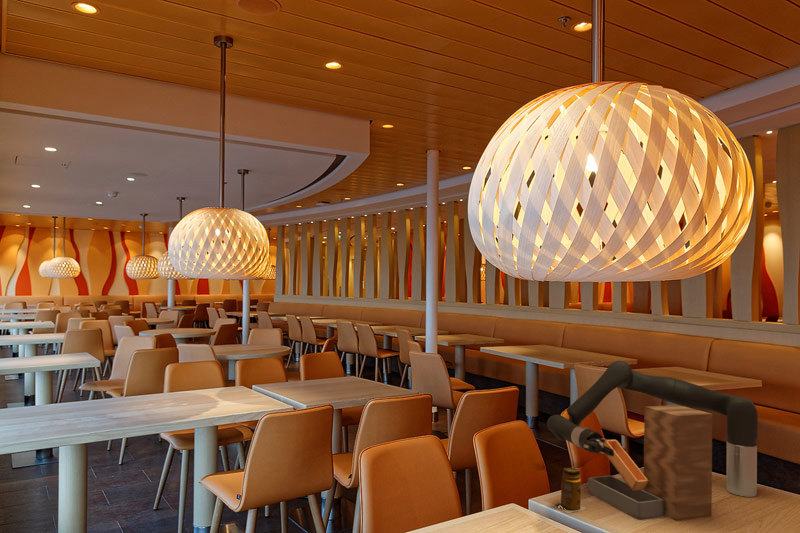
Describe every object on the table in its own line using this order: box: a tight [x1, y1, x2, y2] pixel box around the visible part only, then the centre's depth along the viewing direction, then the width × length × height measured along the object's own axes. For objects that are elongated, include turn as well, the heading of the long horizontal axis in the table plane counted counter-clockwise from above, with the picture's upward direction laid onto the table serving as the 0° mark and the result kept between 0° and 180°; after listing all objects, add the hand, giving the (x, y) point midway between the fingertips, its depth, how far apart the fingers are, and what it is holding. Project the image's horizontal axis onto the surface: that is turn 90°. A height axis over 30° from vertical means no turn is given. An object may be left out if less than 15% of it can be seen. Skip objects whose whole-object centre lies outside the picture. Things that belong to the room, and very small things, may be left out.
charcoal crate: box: [587, 474, 665, 521], centre depth 190 cm, size 24×10×5 cm, turn 19°
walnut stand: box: [643, 404, 713, 522], centre depth 186 cm, size 14×14×32 cm
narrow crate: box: [603, 439, 649, 491], centre depth 190 cm, size 18×4×4 cm, turn 18°
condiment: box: [550, 467, 587, 514], centre depth 185 cm, size 7×8×12 cm
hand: (618, 452), depth 193 cm, fingers closed on narrow crate, 4 cm apart
